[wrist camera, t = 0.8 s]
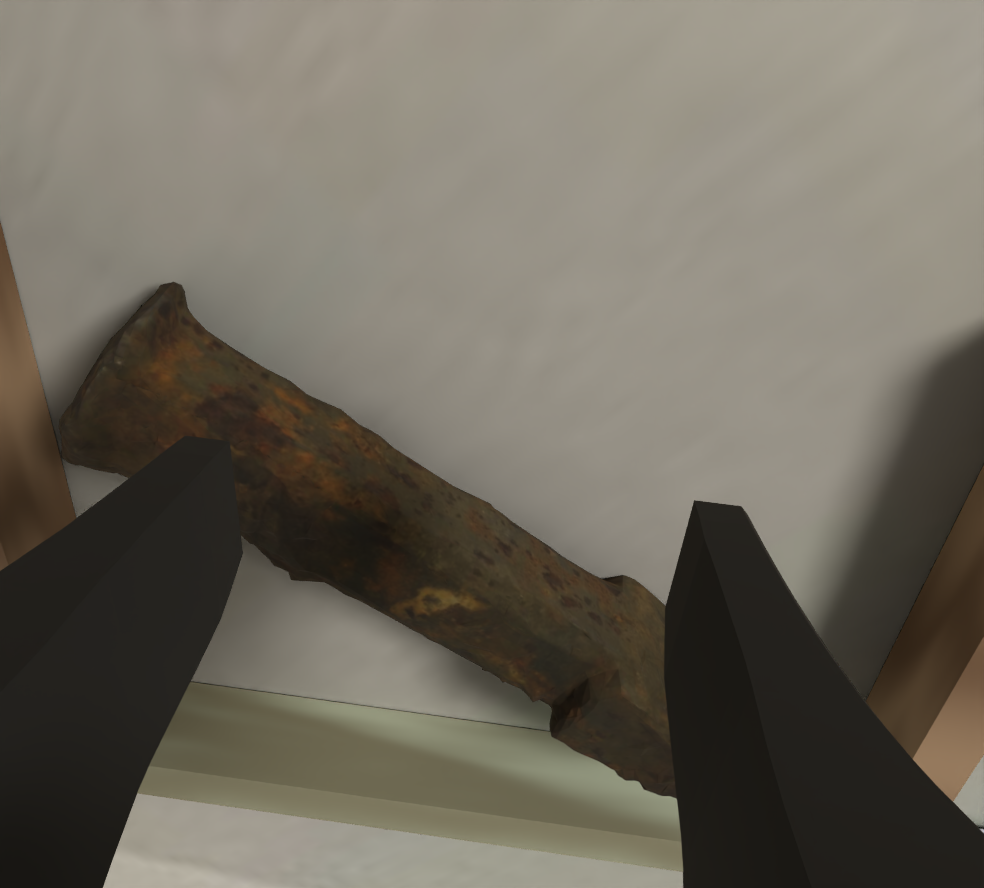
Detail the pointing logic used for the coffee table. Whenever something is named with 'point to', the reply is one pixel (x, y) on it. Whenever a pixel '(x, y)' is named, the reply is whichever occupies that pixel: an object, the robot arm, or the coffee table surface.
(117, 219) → the coffee table surface
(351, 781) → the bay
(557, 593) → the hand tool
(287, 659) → the coffee table surface
